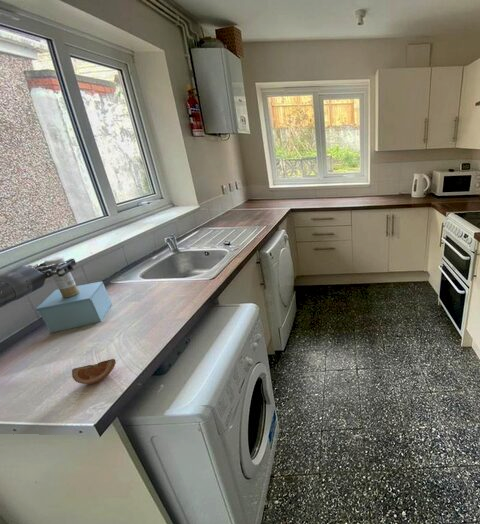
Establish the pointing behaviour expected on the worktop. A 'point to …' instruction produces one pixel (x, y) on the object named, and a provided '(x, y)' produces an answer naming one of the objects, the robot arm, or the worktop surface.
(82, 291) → the lid
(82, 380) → the fruit slice
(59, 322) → the chest
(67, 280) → the sprinkles bottle
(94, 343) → the worktop surface
